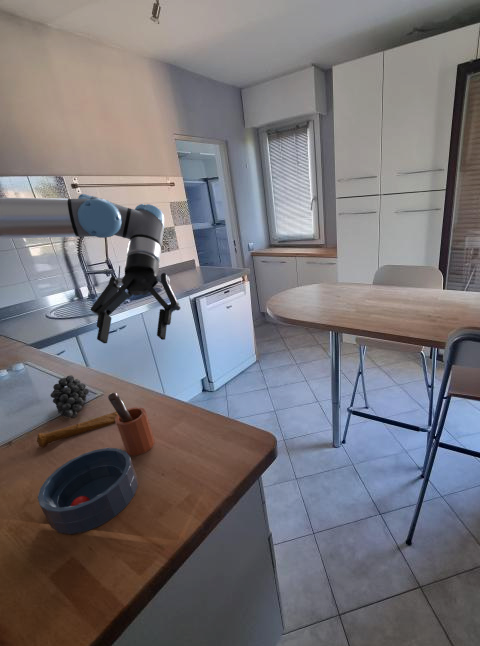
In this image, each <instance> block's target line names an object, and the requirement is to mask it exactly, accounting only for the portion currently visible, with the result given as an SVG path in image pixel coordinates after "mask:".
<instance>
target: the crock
mask: <svg viewBox="0 0 480 646" xmlns="http://www.w3.org/2000/svg"><path fill="white" fill-rule="evenodd" d="M126 409H127V411H128V412H129V414H130V416H131V417H132V419H133V421H130V422H123V421H122V420H121V418H120V416H119V415H117V416H116V418H115V423H114V424H115V426H116V429H117V431H118V434H119V437H120V439H121V442H122V446H123V449H124V451H126V452H127V454H128V455H129V456H139V455H143V454H145V453H146V452H148V451H150V450H151V449H152V448H153V446H154V445H155V438H154V437H155V436H154V435H153V431H152V428H151V425H150V424H151V423H150V420H149V418H148V415H147V411H146V409H145V408H143V407H140V406H137V407H131V408H126Z"/></svg>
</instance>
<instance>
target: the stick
mask: <svg viewBox="0 0 480 646" xmlns="http://www.w3.org/2000/svg"><path fill="white" fill-rule="evenodd" d="M107 398H108V401H109V403H110V404H111V405H112V407H113V409H114V410H115V412H117V413H118V415H119V416H120V418H121V420H122V421H123V422H130V421H133V419H132V417H131V416H130V414H129V412H128V411H127V409H128V408H127V407H126V406H125V404H124V402H123V400H122V399H121V398H120V396H119V394H118V393H117V392H110V393H109V394H108V396H107Z"/></svg>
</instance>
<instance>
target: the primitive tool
mask: <svg viewBox="0 0 480 646" xmlns="http://www.w3.org/2000/svg"><path fill="white" fill-rule="evenodd" d="M117 415H118V413H117V412H116V411H114V412H110V413H107V414H105V415H102V416H99V417H95V418H92V419H88V420H86V421H83V422H79V423H76V424H73V425H70V426H66V427H63V428H60V429H57V430H53V431H48V432H45V433H43V432H39V433H38V434H37V438H36V442H37V444H38V447H39V448H42V449H44V448H45V447H47V446H48V445H49V444H52V443H54V442H58V441H61V440H64V439H68V438H70V437H73V436H76V435H80V434H84V433H86V432H90V431H93V430H97V429H101V428H104V427H106V426H111V425H113V424H114V425H115V424H116V423H115V418H116V416H117Z"/></svg>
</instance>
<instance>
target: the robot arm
mask: <svg viewBox="0 0 480 646" xmlns="http://www.w3.org/2000/svg"><path fill="white" fill-rule="evenodd" d="M164 231H165V215H164V213H163V212H162V210H161V209H160V208H158V207H157V206H156V205H153V204H149V203H146V204H145V203H140V204H138V205H137V206H135V208H130V207H127V206H123V205H120V204H117V203H114V202H111V201H109V200H108V199H104V198H99V197H97V196H94V195H90V194H85V193H81V194H79V195H78V198H59V197H58V198H57V197H56V198H55V197H53V198H52V197H51V198H50V197H49V198H48V197H0V240H3V239H7V240H9V239H40V238H43V239H44V238H77V237H78V238H84V237H85V238H87V237H88V238H90V237H96V238H99V239H105V238H111V237H113V236H117V237H120V238H123V239H128V240H129V242H128V247H127V251H126V258H125V263H124V276H123V277H121V278H120V277H119V278H117V277H116V276H114V275H112V276H110V278H109V281H108V283H107V285H106V286H105V288H104V289H103V291H102V292H101V294H100V295H99V296H98V297H97V299H96V300H95V302H94V303H93V304H92V306H91V308H90V311H91V312H93V314H96V315H97V320H96V327H97V328H98V331H97V336H96V340H97V341H99V342H100V343H103V344H108V341H109V336H110V329H111V325H112V317H111V316H110V315H111V314H113V313H114V312H115V311H116V310H117V309H118V308H119V307H120V306H121V305H122V304H123V303H124V302H125V301H126V300H127V299H130V298H131V297H132V296H135V297H136V296H139V295H140V296H141V295H143V296H147V295H148V294H149V293H150V294H151V296H153V297H154V298H155V300H156V301H157V302H158V304H159V305H160V306H161V307H162V308H160V309H159V314H158V320H157V321H158V322H157V323H158V324H157V329H156V336H157V337H158V338H159V339H161V340H162V341H164V340H166V335H167V326H170V325H171V323H172V314H173V312H175V311H180V310H181V305H180V303H179V301H178V298H177V297H176V295H175V293H174V291H173V288H172V286H171V278H170V277H169V275H167V273H165V272H162V273H161V274H160V275H159V270H160V261H161V254H162V245H163V239H164ZM158 284H160V285H161V286H163V290H164V291H165V294H166V296H167V298H168V300H169V304H168V303H167V302H166V300H164V298H163V297H162V296H161V295H160V294H159V293H158V292H157V290H156V289H155V287H156V286H157V285H158ZM126 291H127V292H126Z"/></svg>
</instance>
